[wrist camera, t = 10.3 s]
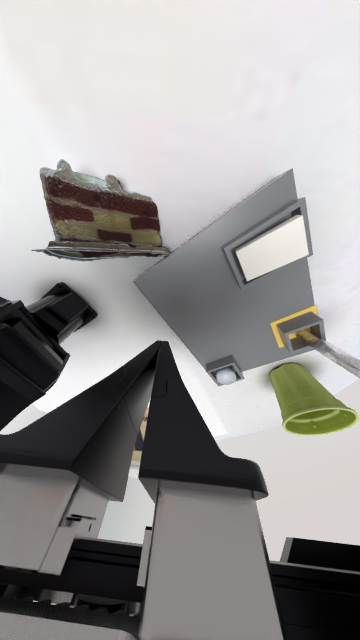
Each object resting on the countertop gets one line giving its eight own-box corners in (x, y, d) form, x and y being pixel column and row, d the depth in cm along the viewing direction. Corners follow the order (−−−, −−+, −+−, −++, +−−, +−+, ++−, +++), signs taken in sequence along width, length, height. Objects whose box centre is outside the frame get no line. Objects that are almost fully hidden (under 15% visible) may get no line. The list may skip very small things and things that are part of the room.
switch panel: (212, 368, 29) (215, 390, 25) (139, 275, 19) (126, 287, 15) (309, 336, 23) (333, 357, 19) (277, 176, 13) (312, 157, 9)
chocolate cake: (177, 178, 14) (-28, 63, 6) (179, 256, 16) (26, 242, 8) (134, 212, 21) (10, 176, 13) (139, 264, 23) (35, 259, 15)
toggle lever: (288, 342, 19) (423, 437, 10) (298, 326, 17) (464, 422, 9) (302, 338, 19) (438, 424, 11) (312, 323, 18) (477, 407, 10)
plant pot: (305, 385, 30) (342, 436, 23) (257, 387, 31) (278, 436, 24) (320, 354, 25) (374, 407, 18) (263, 358, 26) (291, 409, 19)
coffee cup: (150, 403, 38) (136, 467, 28) (171, 417, 42) (165, 477, 32) (126, 411, 41) (106, 470, 31) (147, 423, 45) (135, 479, 35)
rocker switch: (245, 277, 15) (247, 281, 14) (234, 249, 14) (235, 252, 13) (303, 251, 13) (308, 254, 12) (297, 214, 11) (302, 215, 11)
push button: (220, 379, 25) (221, 386, 24) (212, 370, 23) (213, 376, 22) (237, 374, 24) (239, 381, 23) (230, 364, 22) (232, 371, 21)
